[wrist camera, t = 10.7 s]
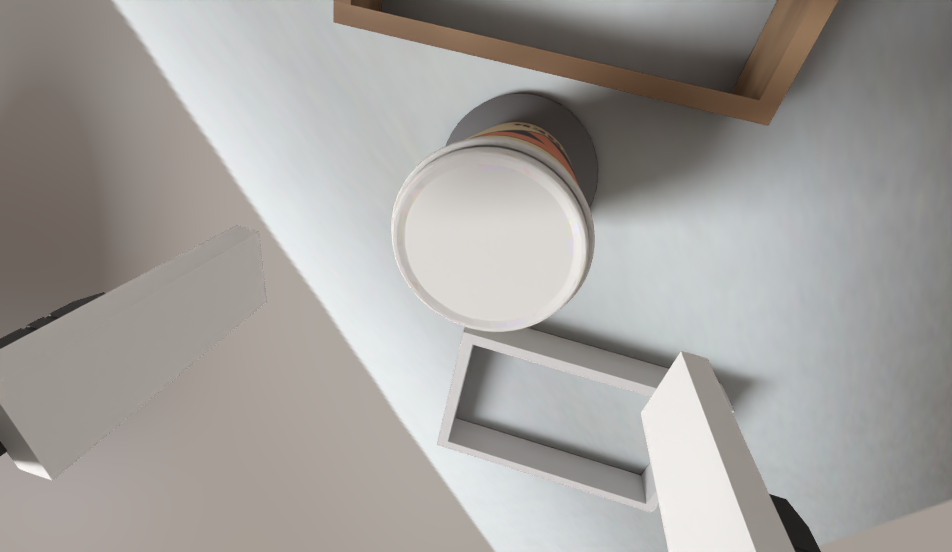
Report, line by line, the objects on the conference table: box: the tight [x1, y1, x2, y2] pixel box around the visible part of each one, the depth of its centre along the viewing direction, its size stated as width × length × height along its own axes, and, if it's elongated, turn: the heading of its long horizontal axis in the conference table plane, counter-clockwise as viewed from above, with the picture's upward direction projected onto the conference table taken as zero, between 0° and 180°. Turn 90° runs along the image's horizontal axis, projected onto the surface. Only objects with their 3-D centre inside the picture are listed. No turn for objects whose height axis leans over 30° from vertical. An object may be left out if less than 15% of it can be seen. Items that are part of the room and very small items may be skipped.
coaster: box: [446, 94, 598, 208], centre depth 28 cm, size 11×11×1 cm
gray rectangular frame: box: [437, 327, 734, 513], centre depth 36 cm, size 15×22×3 cm
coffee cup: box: [391, 122, 595, 332], centre depth 22 cm, size 9×9×12 cm
